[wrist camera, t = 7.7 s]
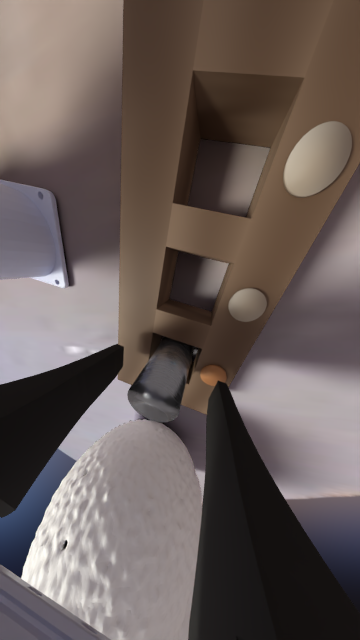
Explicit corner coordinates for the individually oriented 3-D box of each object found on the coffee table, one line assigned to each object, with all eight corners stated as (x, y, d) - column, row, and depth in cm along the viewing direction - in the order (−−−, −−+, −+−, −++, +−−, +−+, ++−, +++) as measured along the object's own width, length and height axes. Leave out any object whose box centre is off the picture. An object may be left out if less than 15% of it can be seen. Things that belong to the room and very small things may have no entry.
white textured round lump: (123, 367, 17) (-305, 851, 3) (248, 429, 16) (505, 1664, 2) (108, 433, 26) (-18, 634, 12) (188, 475, 25) (154, 754, 11)
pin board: (133, 360, 16) (116, 380, 13) (161, 44, 7) (120, -119, 4) (211, 389, 15) (211, 418, 12) (381, 53, 5) (562, -175, 3)
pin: (165, 346, 14) (128, 411, 8) (168, 322, 13) (126, 376, 7) (192, 354, 14) (175, 428, 7) (198, 329, 12) (183, 394, 6)
